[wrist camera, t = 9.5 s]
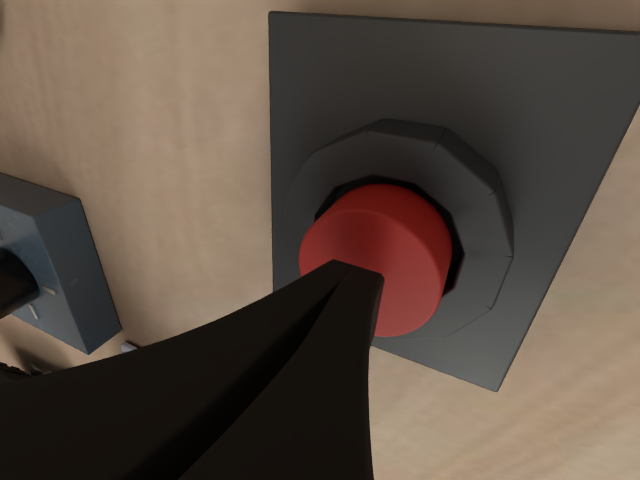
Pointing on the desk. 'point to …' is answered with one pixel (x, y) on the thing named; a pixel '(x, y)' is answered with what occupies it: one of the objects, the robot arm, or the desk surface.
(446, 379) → the desk surface
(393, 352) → the button housing
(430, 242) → the lid button
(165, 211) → the desk surface
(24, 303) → the dial
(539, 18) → the desk surface
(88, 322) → the dial panel
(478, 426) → the desk surface
